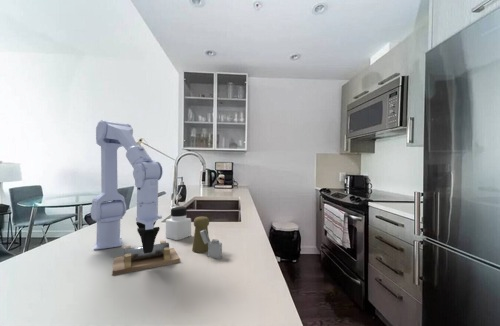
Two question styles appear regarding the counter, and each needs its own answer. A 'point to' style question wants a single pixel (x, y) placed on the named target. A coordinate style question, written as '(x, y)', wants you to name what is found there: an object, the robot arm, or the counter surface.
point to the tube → (139, 254)
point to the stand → (144, 261)
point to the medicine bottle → (178, 224)
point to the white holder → (212, 245)
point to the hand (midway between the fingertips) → (147, 248)
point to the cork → (200, 225)
